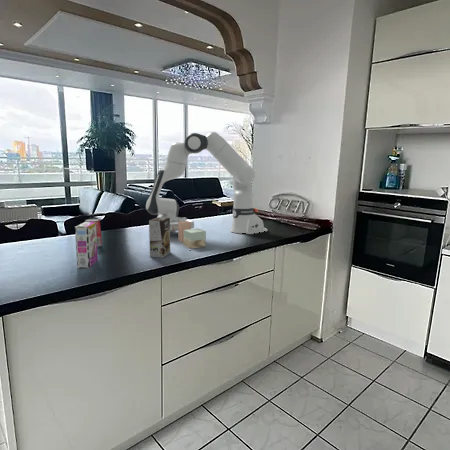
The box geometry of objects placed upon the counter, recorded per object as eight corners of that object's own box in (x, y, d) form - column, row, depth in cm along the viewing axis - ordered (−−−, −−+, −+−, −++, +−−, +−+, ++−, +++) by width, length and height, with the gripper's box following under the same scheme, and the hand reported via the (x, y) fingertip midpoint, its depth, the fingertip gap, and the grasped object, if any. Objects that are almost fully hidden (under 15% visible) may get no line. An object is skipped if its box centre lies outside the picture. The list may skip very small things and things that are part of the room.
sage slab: (198, 236, 169) (198, 228, 169) (205, 239, 163) (205, 231, 162) (183, 237, 165) (183, 229, 164) (191, 241, 158) (191, 232, 158)
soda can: (105, 245, 164) (103, 219, 161) (94, 248, 157) (93, 221, 155) (93, 244, 166) (91, 218, 163) (82, 247, 159) (80, 220, 157)
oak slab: (197, 243, 170) (197, 236, 169) (205, 247, 163) (205, 239, 162) (183, 245, 166) (183, 237, 165) (190, 249, 159) (190, 241, 158)
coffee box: (163, 257, 143) (162, 220, 140) (149, 256, 145) (148, 220, 142) (171, 252, 152) (170, 217, 149) (157, 251, 153) (156, 216, 150)
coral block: (187, 239, 178) (186, 220, 176) (191, 241, 174) (190, 222, 172) (178, 240, 175) (178, 221, 174) (182, 242, 171) (181, 223, 169)
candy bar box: (90, 268, 128) (87, 226, 125) (77, 268, 128) (73, 226, 125) (98, 260, 139) (96, 221, 136) (86, 260, 139) (83, 221, 136)
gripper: (153, 220, 183) (162, 224, 171) (187, 217, 193) (198, 220, 182) (153, 231, 184) (162, 236, 173) (188, 227, 194) (198, 232, 183)
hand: (181, 228), depth 177 cm, fingers open, 8 cm apart
